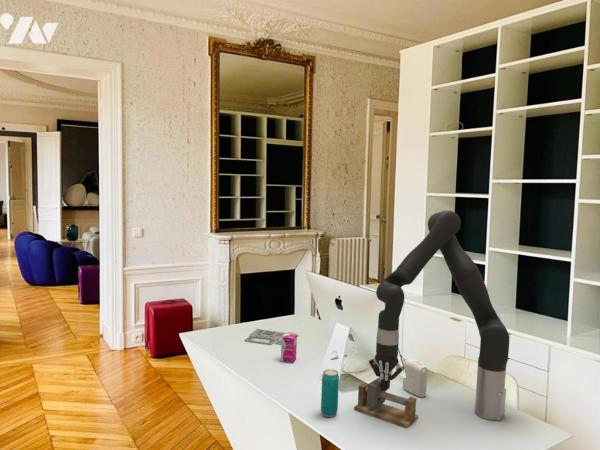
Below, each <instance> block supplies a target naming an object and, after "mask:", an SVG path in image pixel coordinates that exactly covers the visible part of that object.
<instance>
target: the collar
mask: <svg viewBox="0 0 600 450" xmlns="http://www.w3.org/2000/svg"><path fill="white" fill-rule="evenodd" d="M379 390H381V391H384V392H387V391H385V390H382V388H381V378H380V377H377V378H376V379H374V380H372V381H370V382H369V383H368V391H367V407H369V408H372V409H375V408H377V407H378V406H379V405H381V404H382V403H383V404H385V402H386V400H385V399H382V398H378V391H379Z"/></svg>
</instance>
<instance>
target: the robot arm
mask: <svg viewBox="0 0 600 450" xmlns="http://www.w3.org/2000/svg"><path fill="white" fill-rule="evenodd" d="M460 228H461V218H460V216H459V214H458V213H456V212H455V211H452V210H441V211H439V212H436V213H434V214H432V215H430V217H429V218H428V221H427V229H428V234H427V235H426V236H425V237H424V238H423V240H422V241H420V243H419V244H417V246H415V247H414V249H412V250H411V251H410V252H409V253H408V254H407V255H406V256H405V257H404V259H403V260H402V261H401V262H400V264H399V265H398V266H397V267H396V269H395V270H394V271H392V272H391V273H389V274H388V276H386V277H385V278H384V279H383V280H382V281H380V283H379V284H378V286H377V288H376V293H375V295H376V298H377V299H378V300H379V301H381V302H383V303H384V309H382V310H380V311H379V313H378V317H377V319H378V321H377V331H376V341H375V342H376V345H375V347H376V348H375V355H374V358H372V359H370V360H368V364H369V365H370V367H371V369H372V370H373V372H374V374H375V376H376V377H378V378H381V388H382V390H385V391H386V392H387V391H388V390H389V389H390V386H391V381H393V380H395V379H396V378H397V377H398V376H399V375H400V374H401V373H403V372H404V365H401V364H400V363H399V362H400V361H399V359H398V356H399V342H400V341H399V340H400V332H399V330H400V328H399V327H400V315H401V314H402V310H403V306H404V303H405V292H404V290H403V288H402V287H403V286H405V285H406V286H407V285H411V284H412V283H414V281H415V280H416V278H417V277H418V276H419V274H420V273H421V272H422V271H423V269H424V268H425V267H426V265H427V264H428V262H429V261H430V260H432V258H433V257H434V255H436V253H437V252H438V251H440V252H441V255H442V257H443V259H444V261H445V263H446V267H447V268H448V270H449V272H450V274H451V277H452V279H453V282H454V283H455V286H456V287H457V290H458V292H459V293H460V295H461V297H462V299H463V300H464V302H465V303H466V305H467V306H468V307H469V309H470V311H471V313H472V316H473V318H474V321H475V323H476V327H477V329H478V334H479V337H480V341H479V342H480V345H479V355H478V358H477V359H478V360H477V373H476V385H475V386H476V387H475V388H476V389H475V402H474V403H475V404H474V413H475V415H476V416H478V417H479V418H482V419H485V420H490V421H498V422H501V420H502V419H503V418H504V416H505V411H506V397H507V389H506V373H507V365H508V360H509V353H510V352H509V351H510V334H509V332H508V330H507V328H506V326H505V325H504V323H503V322H502V320H501V318H500V317H499V315H498V314H497V312H496V310H495V308H494V306H493V304H492V302H491V299H490V295H489V293H488V292H489V291H488V288H487V286H486V282H485V280H484V278H483V276H482V273H481V272H480V270H479V268H478V266H477V264H476V263H475V261H474V260H473V259H472V258H471V257H470V256H469V254H468V253H467V252H466V251H465V250H464V248H462V246H461V244H460V243H459V241H458V239H457V237H456V233H458V231H459V230H460ZM394 369H395V371H394V372H393V370H394Z"/></svg>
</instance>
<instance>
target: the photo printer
mask: <svg viewBox="0 0 600 450" xmlns="http://www.w3.org/2000/svg"><path fill="white" fill-rule="evenodd" d="M403 367H404V369H405V373H406V378H403V377H402V379H403V380H402V388H403V390H405V391H407V392H409V393H411V394H413V395H415V396H416V397H419V398H424V397H426V395H427V383H428V368H427V366H425V365H424V364H423V363H421V362H420V361H419V360H415V359H412V358H411V359H406V360H405V361H404V362H403Z"/></svg>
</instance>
